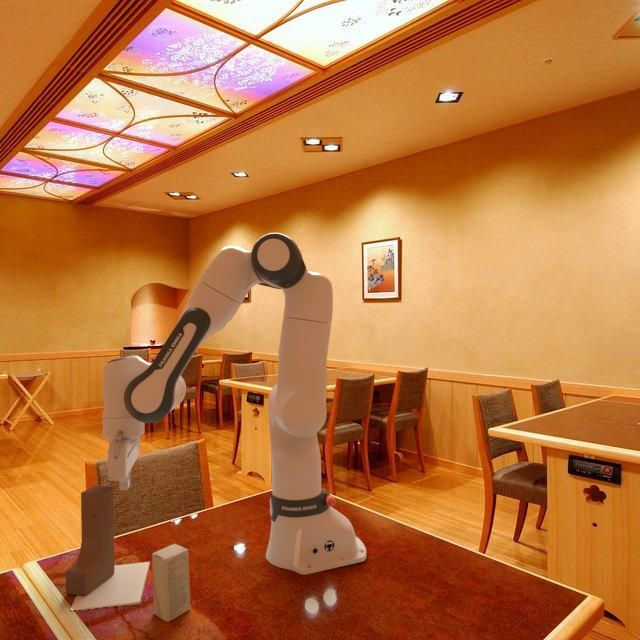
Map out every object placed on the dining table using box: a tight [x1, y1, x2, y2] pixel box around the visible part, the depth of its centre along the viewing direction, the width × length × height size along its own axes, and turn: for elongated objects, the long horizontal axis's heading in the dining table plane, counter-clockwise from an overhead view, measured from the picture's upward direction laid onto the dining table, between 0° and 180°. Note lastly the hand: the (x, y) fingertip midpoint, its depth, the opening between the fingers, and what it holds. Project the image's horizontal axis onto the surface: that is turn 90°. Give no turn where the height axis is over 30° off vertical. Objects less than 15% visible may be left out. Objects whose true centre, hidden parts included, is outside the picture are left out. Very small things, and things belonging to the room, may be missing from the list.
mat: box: [70, 561, 151, 612], centre depth 100 cm, size 12×16×1 cm
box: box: [151, 543, 191, 623], centre depth 91 cm, size 5×4×11 cm
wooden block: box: [64, 485, 115, 596], centre depth 100 cm, size 9×4×18 cm, turn 166°
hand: (124, 488), depth 115 cm, fingers closed
